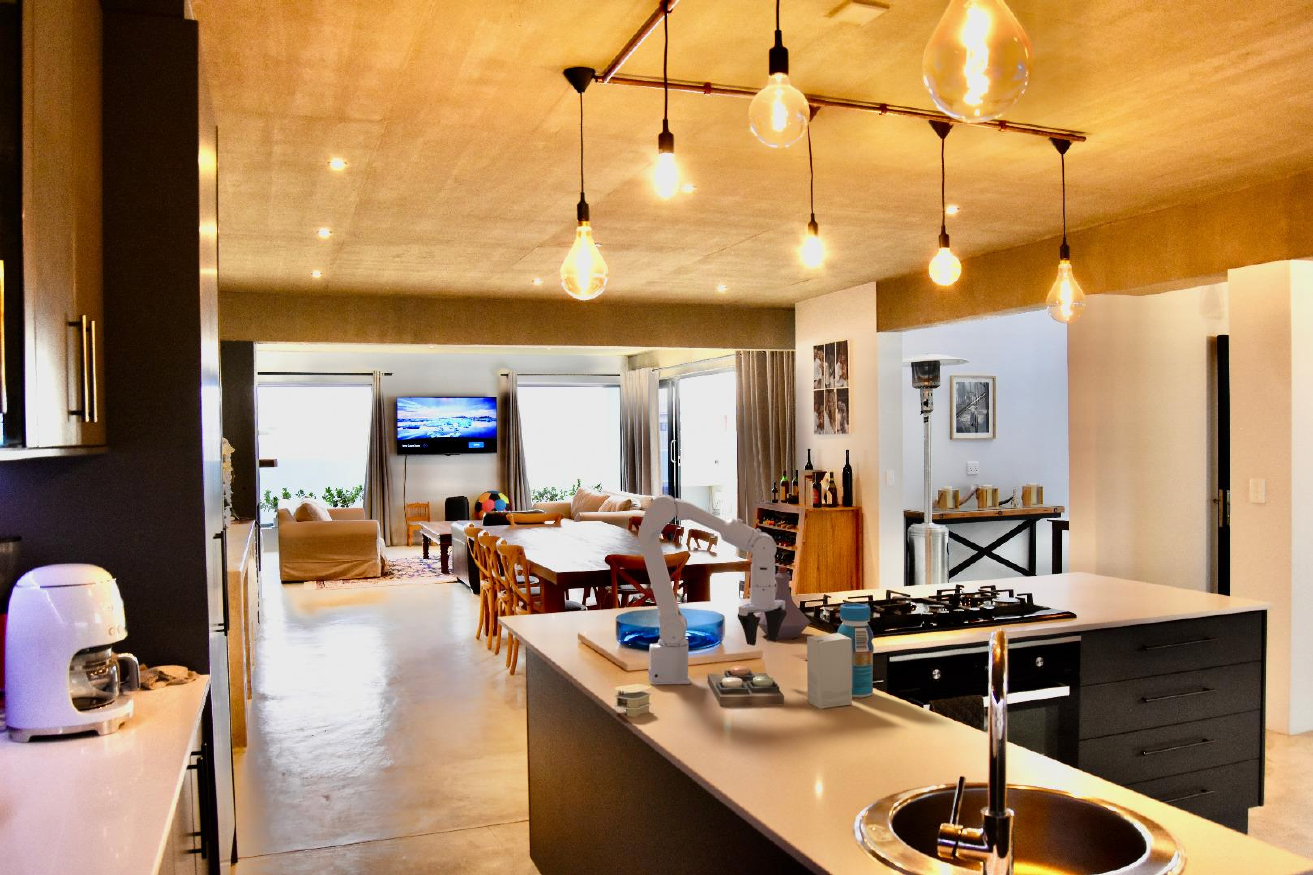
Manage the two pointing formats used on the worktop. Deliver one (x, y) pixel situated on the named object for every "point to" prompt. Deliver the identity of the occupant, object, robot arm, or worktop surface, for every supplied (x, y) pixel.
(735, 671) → the terracotta button
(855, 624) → the beverage bottle
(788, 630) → the flask
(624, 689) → the beige layered block
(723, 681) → the cream button
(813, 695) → the skincare box
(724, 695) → the button board
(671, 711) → the worktop surface
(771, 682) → the sage button
